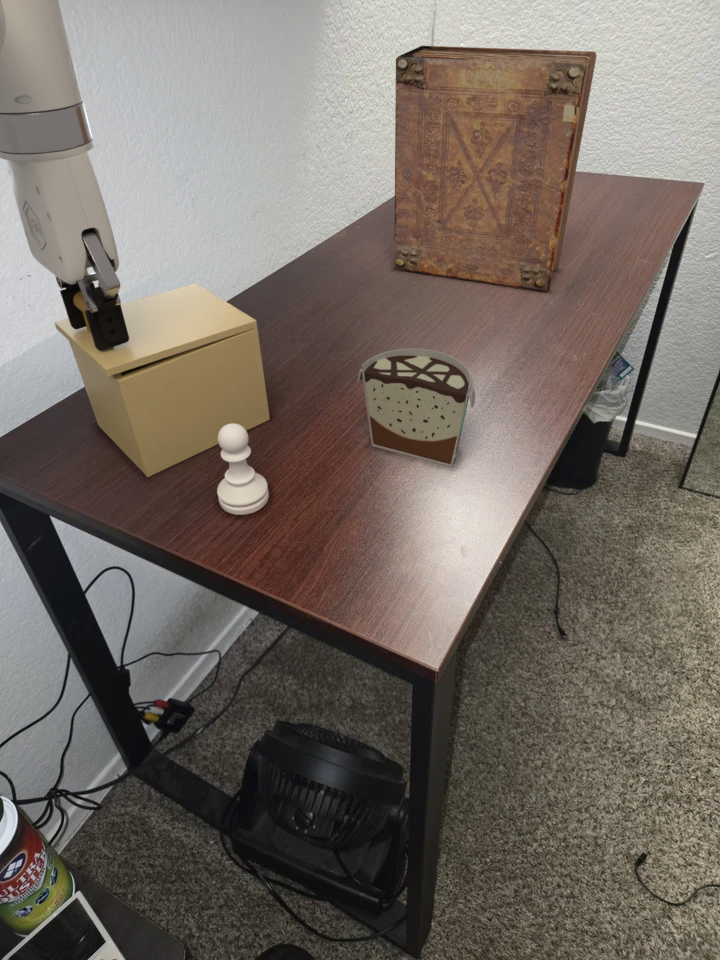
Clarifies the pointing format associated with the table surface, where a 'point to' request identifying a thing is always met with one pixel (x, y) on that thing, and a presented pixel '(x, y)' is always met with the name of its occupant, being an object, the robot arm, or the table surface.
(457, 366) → the food container
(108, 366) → the lid
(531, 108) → the book
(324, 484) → the table surface
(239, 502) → the chess pawn
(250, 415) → the light wooden open box
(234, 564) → the table surface
